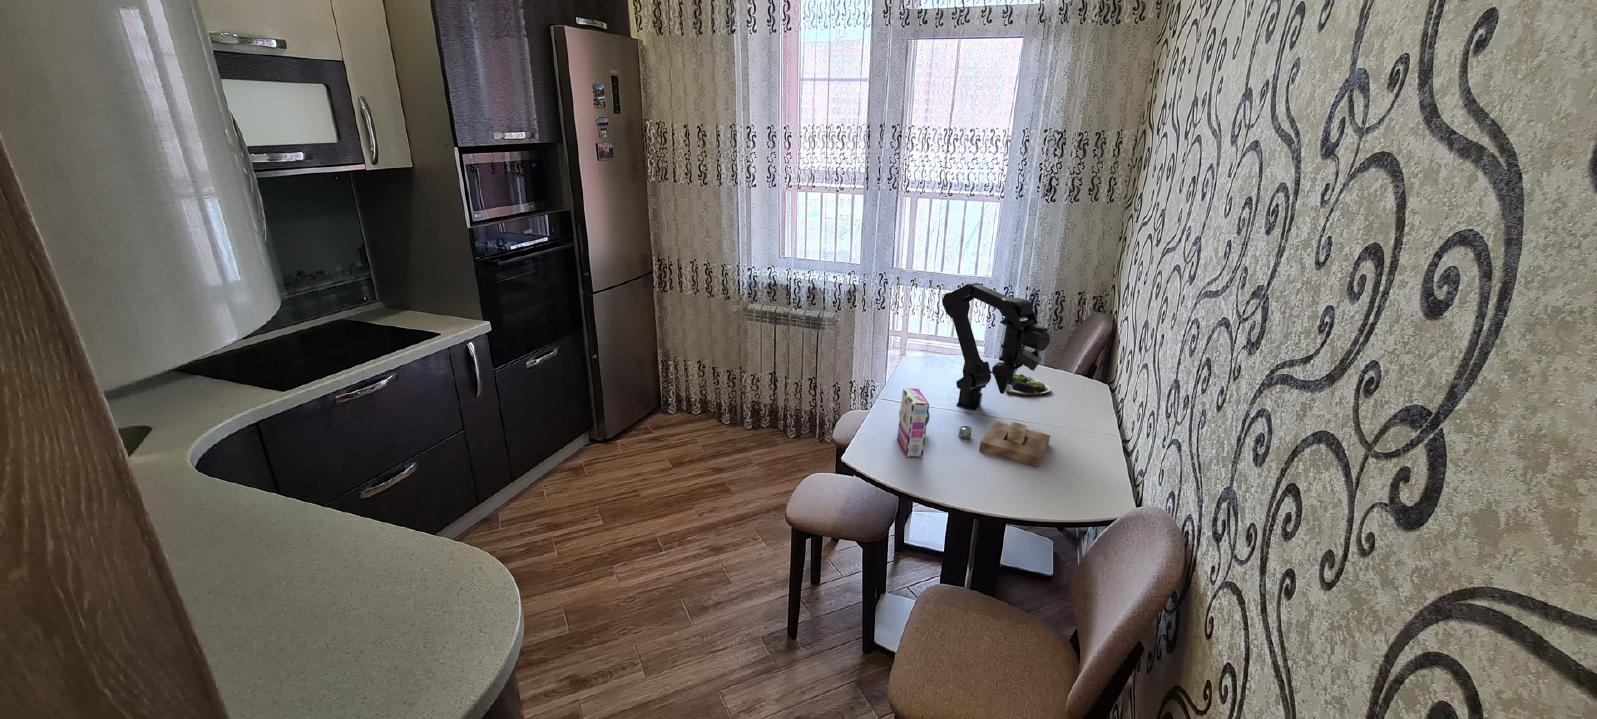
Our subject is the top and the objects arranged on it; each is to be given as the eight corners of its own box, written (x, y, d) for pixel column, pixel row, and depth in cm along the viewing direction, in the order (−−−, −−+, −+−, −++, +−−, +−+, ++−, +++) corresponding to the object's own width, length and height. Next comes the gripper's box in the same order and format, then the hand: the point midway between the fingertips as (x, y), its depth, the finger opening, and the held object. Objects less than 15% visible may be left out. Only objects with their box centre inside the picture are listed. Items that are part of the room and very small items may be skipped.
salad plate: (983, 378, 229) (985, 366, 228) (1026, 376, 233) (1028, 364, 232) (1011, 399, 212) (1013, 387, 210) (1056, 396, 216) (1059, 384, 214)
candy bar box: (923, 458, 170) (930, 404, 164) (906, 458, 170) (912, 404, 164) (913, 439, 181) (919, 387, 175) (896, 439, 180) (901, 387, 174)
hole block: (978, 450, 175) (980, 441, 174) (993, 430, 188) (995, 421, 187) (1037, 467, 168) (1039, 457, 167) (1048, 444, 180) (1050, 435, 179)
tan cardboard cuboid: (1005, 448, 177) (1009, 426, 175) (1008, 443, 180) (1012, 421, 178) (1019, 452, 175) (1023, 430, 173) (1022, 446, 178) (1026, 425, 176)
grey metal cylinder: (956, 438, 182) (958, 429, 181) (960, 433, 185) (961, 424, 184) (968, 441, 181) (970, 432, 180) (972, 436, 183) (973, 427, 182)
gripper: (1034, 355, 174) (1025, 405, 179) (1047, 338, 189) (1038, 385, 194) (995, 347, 179) (987, 396, 185) (1010, 331, 194) (1003, 377, 200)
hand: (1005, 388), depth 191 cm, fingers open, 9 cm apart
